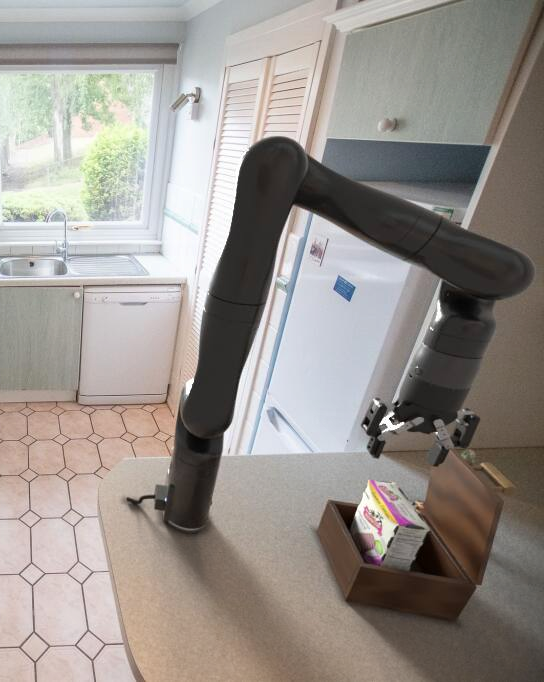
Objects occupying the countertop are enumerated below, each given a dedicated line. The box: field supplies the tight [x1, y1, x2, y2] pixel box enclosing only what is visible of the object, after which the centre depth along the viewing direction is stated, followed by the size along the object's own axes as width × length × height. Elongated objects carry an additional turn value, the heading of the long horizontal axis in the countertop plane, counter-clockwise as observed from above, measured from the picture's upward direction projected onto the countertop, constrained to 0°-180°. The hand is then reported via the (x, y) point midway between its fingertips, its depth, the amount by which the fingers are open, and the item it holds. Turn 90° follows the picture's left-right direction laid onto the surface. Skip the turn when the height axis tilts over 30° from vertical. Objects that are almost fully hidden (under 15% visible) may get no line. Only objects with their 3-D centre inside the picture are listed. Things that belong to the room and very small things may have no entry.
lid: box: [423, 439, 519, 586], centre depth 76 cm, size 18×16×6 cm
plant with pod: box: [410, 448, 477, 526], centre depth 94 cm, size 8×11×20 cm
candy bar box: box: [349, 479, 430, 571], centre depth 82 cm, size 11×5×16 cm, turn 168°
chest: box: [316, 499, 478, 623], centre depth 84 cm, size 17×16×9 cm
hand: (401, 459), depth 75 cm, fingers open, 8 cm apart
